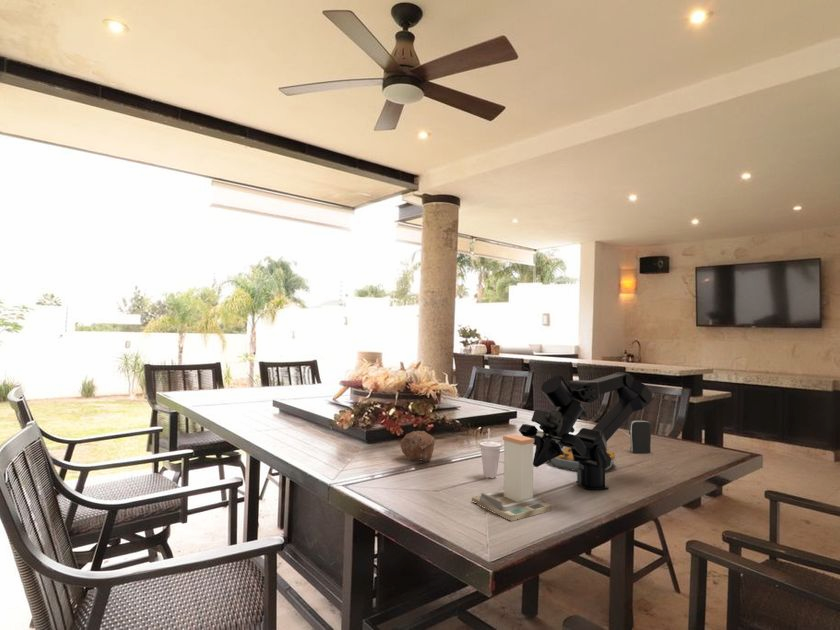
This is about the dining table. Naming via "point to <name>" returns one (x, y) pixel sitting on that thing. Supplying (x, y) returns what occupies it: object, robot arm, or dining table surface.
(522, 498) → the white rectangular tower
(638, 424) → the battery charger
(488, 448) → the smoothie
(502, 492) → the switch base
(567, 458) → the pie
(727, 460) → the dining table surface
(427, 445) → the decorative rock
